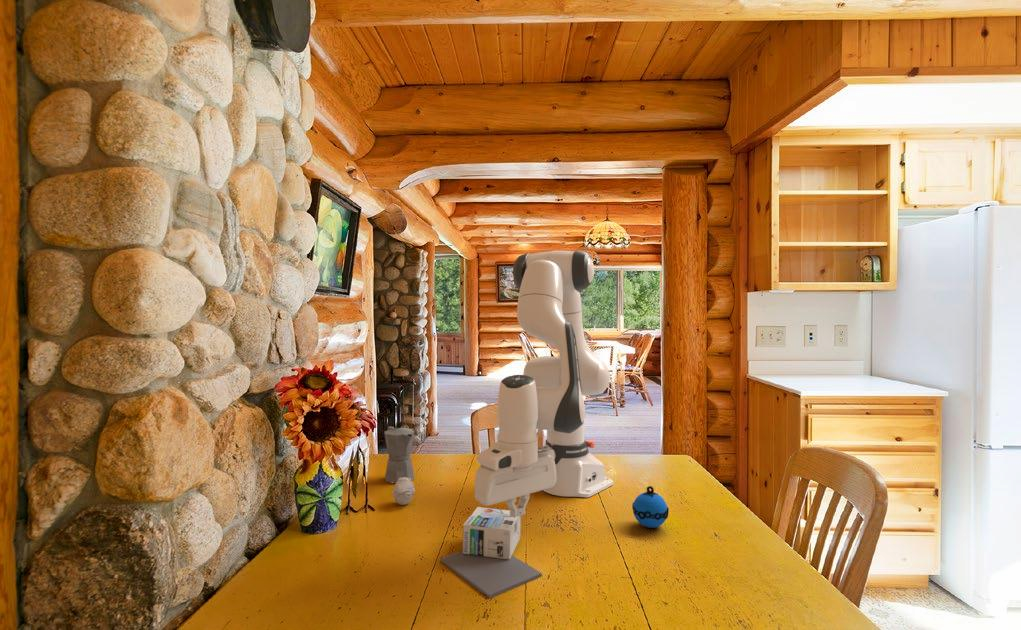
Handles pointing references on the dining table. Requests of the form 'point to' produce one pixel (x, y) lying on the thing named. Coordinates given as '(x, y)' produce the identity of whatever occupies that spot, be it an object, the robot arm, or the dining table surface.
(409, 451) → the coffeepot
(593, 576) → the dining table surface
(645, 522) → the ornament
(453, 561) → the mat
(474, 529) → the light bulb box
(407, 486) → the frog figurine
